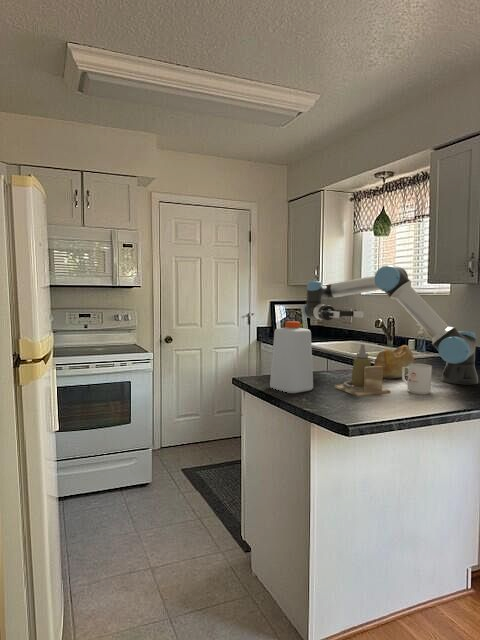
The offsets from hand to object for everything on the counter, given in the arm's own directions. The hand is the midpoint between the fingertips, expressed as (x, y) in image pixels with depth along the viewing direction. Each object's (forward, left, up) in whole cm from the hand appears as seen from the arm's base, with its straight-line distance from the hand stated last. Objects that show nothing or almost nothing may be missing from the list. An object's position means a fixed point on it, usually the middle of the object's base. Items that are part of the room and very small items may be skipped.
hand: (351, 314), depth 204 cm
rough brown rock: (-7, -25, -30) cm, 40 cm away
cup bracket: (-15, +14, -30) cm, 36 cm away
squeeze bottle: (-15, +14, -29) cm, 36 cm away
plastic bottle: (+5, +35, -30) cm, 46 cm away
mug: (-31, -1, -30) cm, 43 cm away
